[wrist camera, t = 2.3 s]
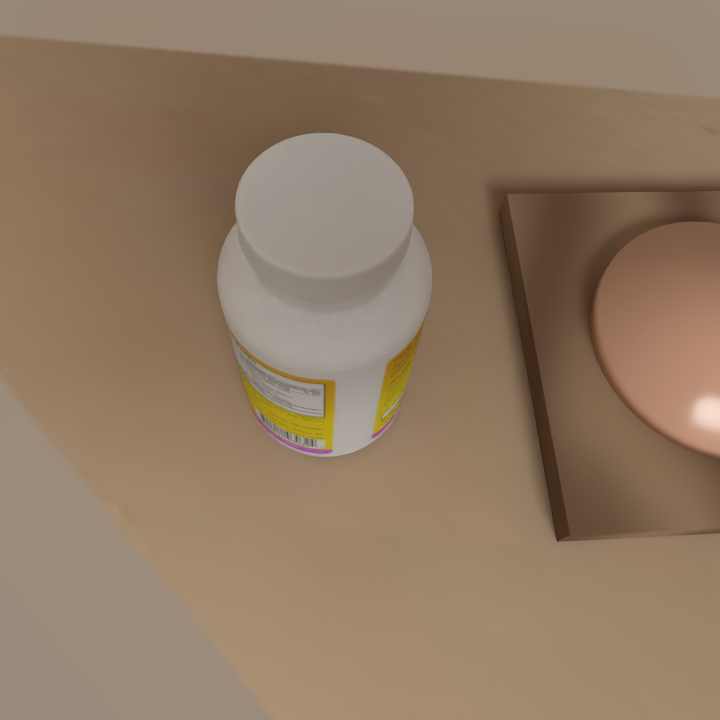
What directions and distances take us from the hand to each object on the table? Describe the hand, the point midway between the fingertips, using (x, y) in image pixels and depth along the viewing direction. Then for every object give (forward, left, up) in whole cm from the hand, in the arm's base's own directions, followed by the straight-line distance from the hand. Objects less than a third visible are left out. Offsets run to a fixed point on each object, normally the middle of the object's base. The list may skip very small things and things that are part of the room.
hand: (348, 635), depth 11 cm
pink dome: (-17, -11, -14) cm, 25 cm away
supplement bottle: (0, -11, -16) cm, 19 cm away
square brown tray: (-17, -11, -15) cm, 26 cm away
